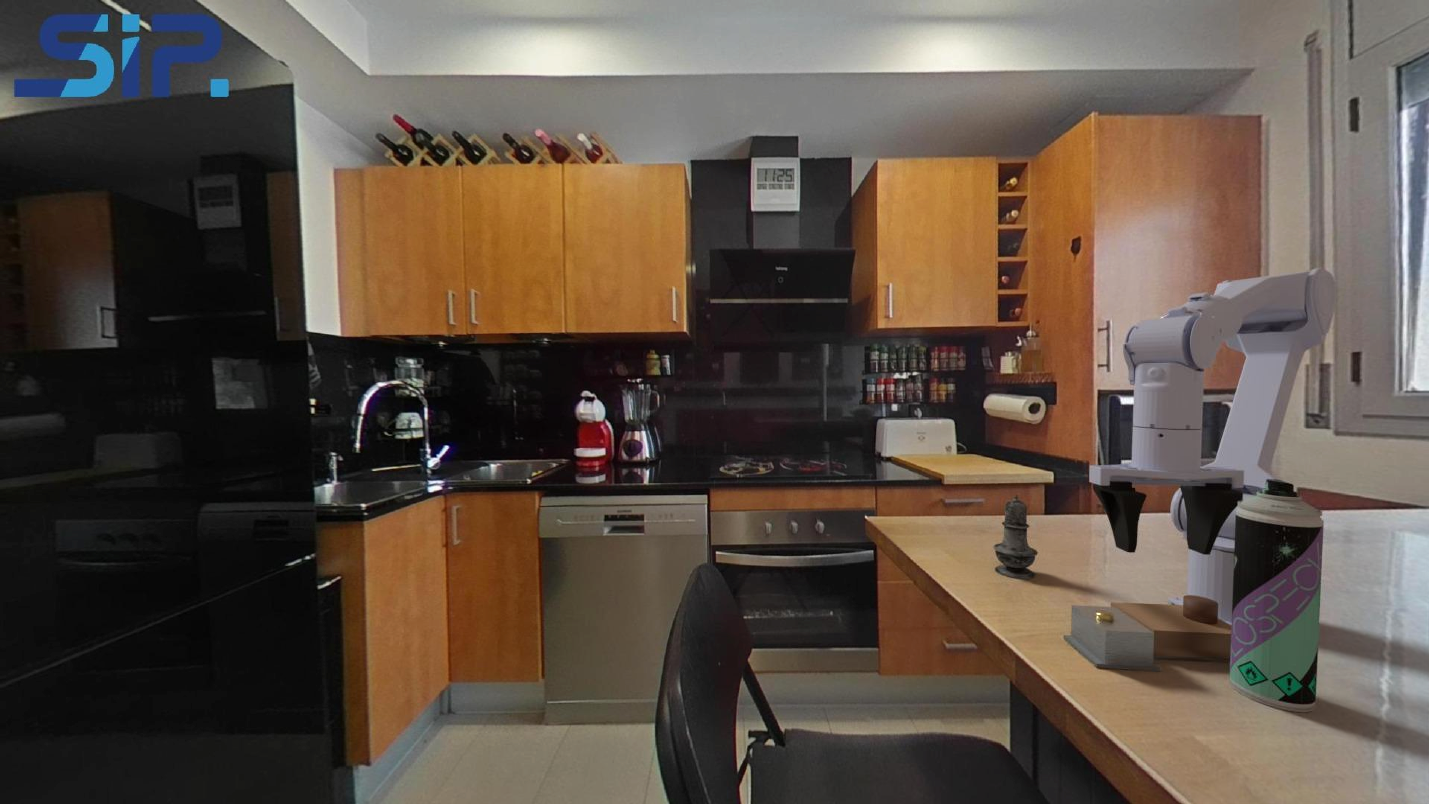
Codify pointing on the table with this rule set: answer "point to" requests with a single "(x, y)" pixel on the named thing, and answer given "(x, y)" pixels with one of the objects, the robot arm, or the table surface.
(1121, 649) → the grey knob block
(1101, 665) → the mat
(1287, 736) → the table surface
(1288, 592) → the spray can
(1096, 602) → the table surface
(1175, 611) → the body
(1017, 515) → the salt shaker
